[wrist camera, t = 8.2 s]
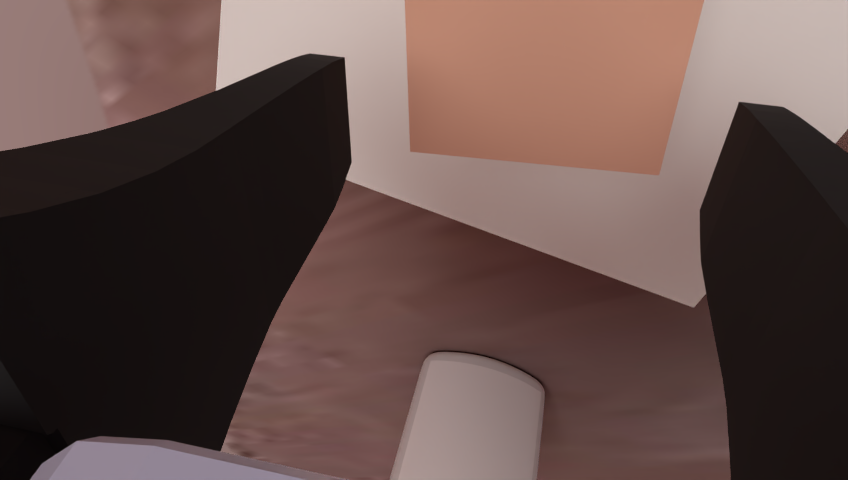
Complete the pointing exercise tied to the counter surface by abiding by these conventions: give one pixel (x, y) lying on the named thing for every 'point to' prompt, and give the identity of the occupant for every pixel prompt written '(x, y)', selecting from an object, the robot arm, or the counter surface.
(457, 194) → the post board
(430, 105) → the tan brick
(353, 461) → the counter surface
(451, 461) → the eye dropper bottle
